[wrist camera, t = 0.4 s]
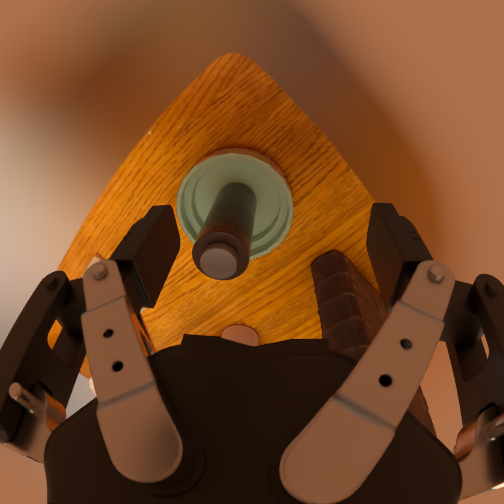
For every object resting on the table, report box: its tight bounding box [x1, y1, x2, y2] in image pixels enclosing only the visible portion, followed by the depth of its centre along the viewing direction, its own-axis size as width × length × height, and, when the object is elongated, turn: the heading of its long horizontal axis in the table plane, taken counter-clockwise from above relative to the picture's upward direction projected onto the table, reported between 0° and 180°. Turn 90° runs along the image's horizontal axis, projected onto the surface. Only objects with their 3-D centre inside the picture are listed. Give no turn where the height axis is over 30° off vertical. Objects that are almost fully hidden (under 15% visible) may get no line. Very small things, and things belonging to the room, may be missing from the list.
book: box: [311, 251, 437, 437], centre depth 30 cm, size 17×7×25 cm, turn 40°
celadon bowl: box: [176, 147, 294, 260], centre depth 33 cm, size 13×13×4 cm
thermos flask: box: [192, 183, 257, 280], centre depth 28 cm, size 5×5×13 cm
